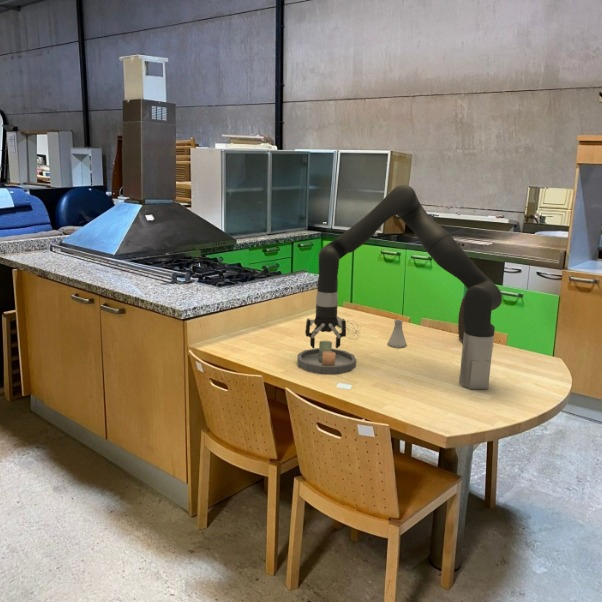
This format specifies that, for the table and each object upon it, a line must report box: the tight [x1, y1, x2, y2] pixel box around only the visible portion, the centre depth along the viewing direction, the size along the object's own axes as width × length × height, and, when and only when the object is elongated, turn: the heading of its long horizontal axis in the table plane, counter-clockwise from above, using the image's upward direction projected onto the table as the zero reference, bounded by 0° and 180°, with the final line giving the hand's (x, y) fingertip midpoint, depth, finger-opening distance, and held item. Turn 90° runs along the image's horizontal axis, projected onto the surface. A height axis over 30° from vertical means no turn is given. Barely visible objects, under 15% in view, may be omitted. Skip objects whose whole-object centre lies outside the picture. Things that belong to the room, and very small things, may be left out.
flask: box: [387, 319, 408, 349], centre depth 235 cm, size 7×7×10 cm
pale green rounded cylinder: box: [318, 340, 333, 356], centre depth 217 cm, size 4×4×5 cm
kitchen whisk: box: [337, 315, 360, 335], centre depth 257 cm, size 6×34×6 cm, turn 15°
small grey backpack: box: [457, 295, 465, 343], centre depth 240 cm, size 15×8×20 cm, turn 5°
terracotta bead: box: [322, 351, 335, 366], centre depth 206 cm, size 4×4×5 cm
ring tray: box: [296, 347, 357, 375], centre depth 212 cm, size 20×20×2 cm
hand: (325, 347), depth 217 cm, fingers open, 8 cm apart
